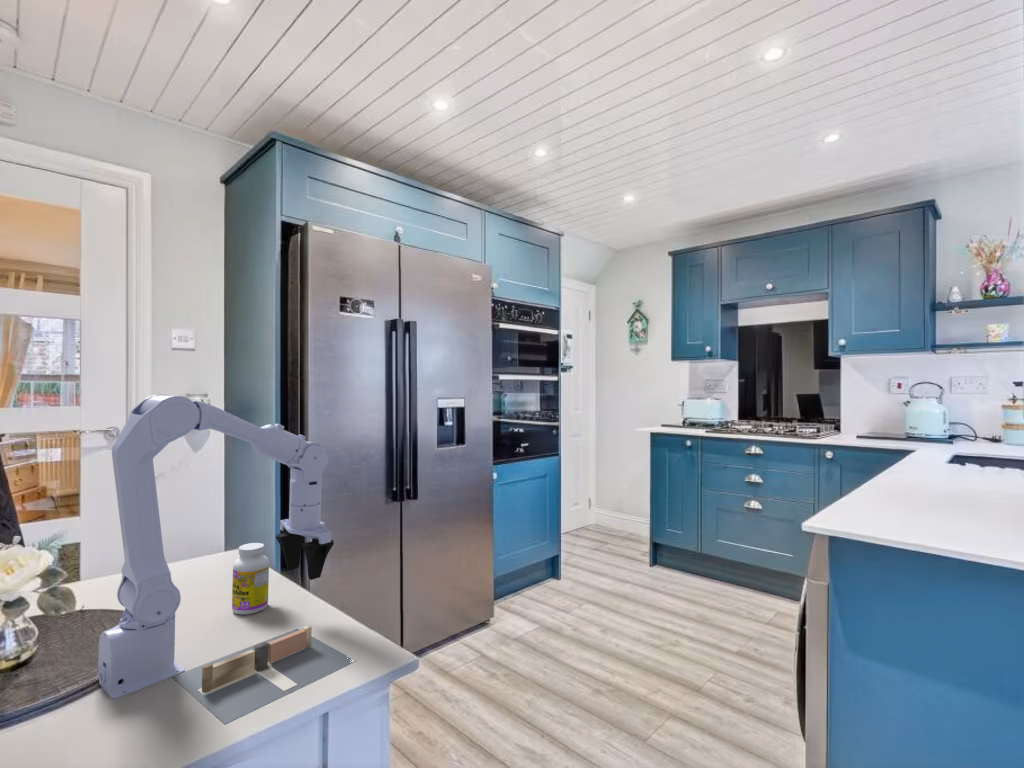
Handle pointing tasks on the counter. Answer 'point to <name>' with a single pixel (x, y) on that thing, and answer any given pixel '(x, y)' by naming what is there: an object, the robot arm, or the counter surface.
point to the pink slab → (289, 644)
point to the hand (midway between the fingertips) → (303, 573)
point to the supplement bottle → (250, 580)
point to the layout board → (264, 680)
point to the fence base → (234, 667)
